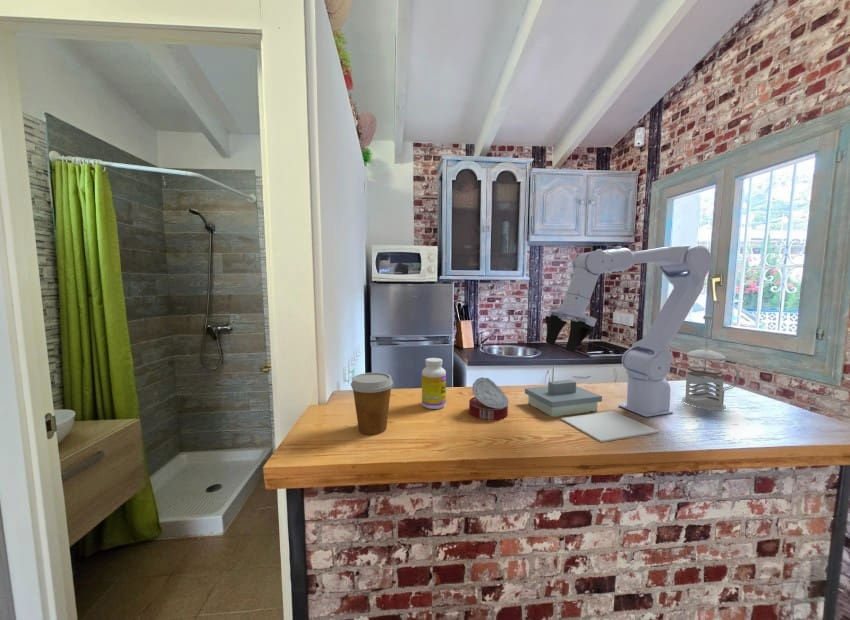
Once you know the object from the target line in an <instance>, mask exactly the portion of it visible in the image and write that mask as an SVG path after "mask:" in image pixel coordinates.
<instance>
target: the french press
mask: <svg viewBox="0 0 850 620" xmlns="http://www.w3.org/2000/svg"><path fill="white" fill-rule="evenodd" d="M703 319H704V320H706V321H707V322H706V335H705V336H706V338H705V348H704V349H694V350H691V351H689V352H687V353H686V355H687V356H688V357H690V358H693V359H700V360H704V367H703V366H697V365H696V366H693V365H692V366H689V367H688V368H687V369H688V370H689V371H687V372H686V377H685V378H686V379H685V396H684V397H683V398H681V399H682V401H683V402H685V403H687V404H689V405H693V406H696V407H700V408H699V409H701V408H704V409H703V410H706V409H710V410H709V411H714V410H723V411H725V410H724V409H726V407H727V406H726V405H725V404H724V401H725V400H724V399H725V391H728V390H731V389H734V388H735V387H736V386H737V385H738V383H739V382H740V373H739V371H738V369H737V368H736V367H735V366H734V365H733V364H732V363H729V362H727V361H724V360H726V355H723V354H722V353H720V352H717V351H713V350H709V349H708V348H707V347H708V334H709V333H708V331H709V330H708V329H709V320H712V319H713V316H712V315H711V314H705V315H704V316H703V317H702V320H703ZM708 360H709V361H723V362H722V367H723V368H726V365H729V366H731V367H732V368H733V369H734V371H735V375H736V379H735V381H734V382H733V383H732V384H731V385H729V386H726V387H724V381H725V379H724V377H723V376H722V374H723V373H724V372H723V371H722V370H721V369H717V368H712V367H707V361H708ZM705 377H706V378H705ZM707 377H708V378H707ZM711 383H712V384H711ZM691 384H692V385H691ZM713 384H714V385H713ZM690 393H691V394H690ZM682 401H681V402H682ZM683 402H682V403H683ZM685 403H684V404H685ZM687 404H686V405H687ZM689 405H688V406H689ZM693 406H692V407H693ZM696 407H695V408H696Z"/></svg>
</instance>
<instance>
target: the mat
mask: <svg viewBox="0 0 850 620" xmlns="http://www.w3.org/2000/svg"><path fill="white" fill-rule="evenodd" d="M560 420H561V421H562V422H564V423H565V424H566V423H567V424H568V425H570V426H572V427H573V428H575V429H576V430H579V431H580V432H582V433H584V434H585V435H587V436H589V437H591V438H593V439H594V440H596V441H598V442H600V443H605V442H611V441H617V440H623V439H627V438H630V439H631V438H635V437H640V436H645V435H646V436H647V435H653V434H658V433H660V430H658V429H656V428H653V427H652V426H649V425H647V424H644V423H642V422H639V421H638V420H634V419H632V418H630V417H628V416H625V415H623V414H621V413H619V412H616V411H614V410H610V411H603V412H595V413H588V414H582V415H575V416H573V415H572V416H566V417H561V418H560Z"/></svg>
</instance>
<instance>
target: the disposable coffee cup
mask: <svg viewBox="0 0 850 620" xmlns="http://www.w3.org/2000/svg"><path fill="white" fill-rule="evenodd" d="M393 385H394V381H393V379H392V376H391V375H390V374H388V373H386V372H385V373H384V372H365V373H360V374H357V375H354V376H353V378H352V380H351V383H350V386H351V389H352V391H353V392H352V393H353V399H354V405H355V406H354V407H355V413H356V421H357V426H358V431H359V433H360V434H363V435H367V436H372V435H374V436H375V435H378V434H382V433H384V432H385V431H386V430H387V426H388V417H389V410H390V409H389V408H390V401H391V391H392V387H393Z"/></svg>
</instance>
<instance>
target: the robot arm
mask: <svg viewBox="0 0 850 620" xmlns="http://www.w3.org/2000/svg"><path fill="white" fill-rule="evenodd" d="M646 263H654V266H655V267H658V268H659V270H660V271H661V273H662V274H663V275H664V277H665V278H666V280H667V281H668V282H669V284H671V285H672V286H673V287H672V290H671V292H670V294H669V295H668V297H667V299H666V301H665V303H664V304H663V306H662V307H661V308H660V311H659V312H658V314H657V316H656V317H655V319H654V321H653V323H652V324H651V326H650V328H649V330H648V331H647V333H646V335H645V336H644V338H642V339H640V340H638V341H635V342H633V344H632V345H631V347H630V348H629V349H627V350H626V351H624V352H623V355H622V356H621V364H622V366H623V368H624V369H625V370H626V374H627V387H626V388H627V389H626V391H627V393H626V394H627V395H626V403H624V402H623V403H619V404H618V407H621V408H623V409H625V410H628V411H630V412H632V413H636V414H638V415H640V416H643V417H646V418H647V417H654V416H662V415H669V414H673V413H674V410H671V409H670V407H671V404H670V403H671V384H670V383H669V382H668V380H667V379H666V377H667V376H668V375H669V372H670V369H671V363H672V361H673V359H674V355H673V353H672V352H671V351H670V348H669V347H670V345H671V343H672V342H673V340H674V338H675V337H676V335H677V333H678V331H679V330H680V328H681V327H682V325H683V323H684V322H685V320H686V318H687V316H688V315H689V313H690V311H691V310H692V308H693V306H694V305H695V303H696V302H697V300H698V298H699V297H700V294H701V293H702V291H703V289H704V285H705V281H706V277H707V274H708V273H709V271H710V269H711V268H712V267H713V266H714V260H713V257H712V255H711V252H710V250H709V249H708V248H707V247H706V246H703V245H695V246H693V247H691V246H690V245H680V246H679V245H677V246H675V245H674V246H666V247H665V246H664V247H658V248H653V249H652V248H651V249H645V250H644V249H643V250H637V251H632V250H630V249H629V248H627V247H622V245H619V246H618V245H616V246H613V247H612V249H602V248H597V249H595V250H593V251H588V252H583V253H580V254H578V255H577V256H576V258H575V259H574V260H572V269H573V273H572V276H571V279H570V282H569V284H568V286H567V287H568V288H567V290H566V293H565V296H564V298H563V302H562V304H561V307H560V308H556V309H553V308H549V311H548V314H547V315H545V318H544V319H545V324H546V340H545V343H546V344H549V345H553V346H554V344H555V343H556V342H557V339H558V336H559V335H560V333H561V331H562V330H563V328H564V327H565V326H566V325H567V323H568V321H569V322H570V323H569V324H570V326H569V327H570V329H569V334H568V335H569V336H568V339H567V343H566V347H565V350H566V351H569V352H570V353H571V352H572V353H575V352H576V351H577V348H579V346H580V344H581V343H582V342H583V341H584V340H585V339H586V338H587V337H588V336H589V335H590V334H592V333H593V332H594V328H592V327H595V326H596V324H597V321H598V318H595V317H593V316H590V315H586V312H587V309H588V306H589V303H590V300H591V298H592V296H593V292H594V290H595V287H596V285H597V281H598V278H599V276H600V275H602V274H607V273H613V272H614V273H615V272H621V271H622V272H624V271H628V270H629V269H631V267H632V266H633V265H636V264H637V265H638V264H646Z"/></svg>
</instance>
